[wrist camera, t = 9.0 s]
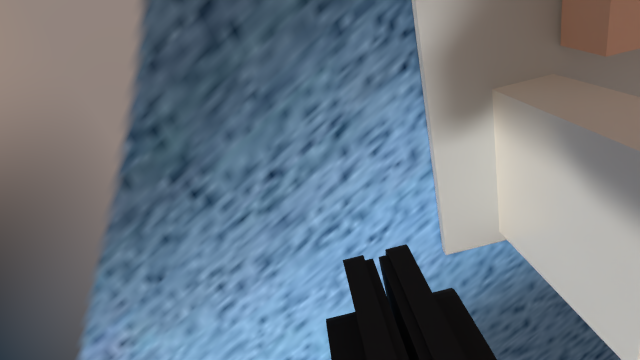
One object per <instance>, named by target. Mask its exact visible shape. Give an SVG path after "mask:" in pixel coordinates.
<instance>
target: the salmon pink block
mask: <svg viewBox="0 0 640 360" xmlns="http://www.w3.org/2000/svg"><path fill="white" fill-rule="evenodd" d="M560 45H561V46H565V47H569V48H573V49H577V50H581V51H585V52H589V53H593V54H597V55H601V56H605V57H607V56H611V55H615V54H619V53H623V52H627V51H632V50H636V49H640V0H562V17H561V43H560Z"/></svg>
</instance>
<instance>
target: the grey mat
mask: <svg viewBox="0 0 640 360" xmlns="http://www.w3.org/2000/svg"><path fill="white" fill-rule="evenodd" d="M412 7H413V15H414V23H415V31H416V39H417V47H418V55H419V63H420V71H421V79H422V87H423V95H424V104H425V112H426V120H427V128H428V136H429V144H430V152H431V160H432V168H433V176H434V184H435V192H436V200H437V208H438V216H439V224H440V232H441V240H442V248H443V251H444V252H445V254H446V255H448V254H452V253H456V252H460V251H464V250H468V249H472V248H476V247H480V246H484V245H488V244H492V243H496V242H500V241H504V240H507V239H506V238H505V237H504V236H503V235H502V234H501V233H500V232H499V213H498V194H497V175H496V155H495V136H494V117H493V97H492V89H495V88H499V87H503V86H507V85H511V84H515V83H519V82H523V81H527V80H531V79H535V78H539V77H543V76H547V75H551V74H556V75H560V76H563V77H567V78H571V79H575V80H578V81H582V82H586V83H589V84H593V85H597V86H601V87H604V88H608V89H612V90H615V91H619V92H623V93H627V94H630V95H634V96H638V97H640V49H636V50H632V51H627V52H623V53H619V54H615V55H611V56H607V57H605V56H601V55H597V54H593V53H589V52H585V51H581V50H577V49H573V48H569V47H565V46H561V45H560V43H561V17H562V0H412Z"/></svg>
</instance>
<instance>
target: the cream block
mask: <svg viewBox="0 0 640 360" xmlns="http://www.w3.org/2000/svg"><path fill="white" fill-rule="evenodd" d="M492 97H493V117H494V136H495V155H496V175H497V194H498V213H499V232H500V233H501V234H502V235H503V236H504V237H505V238H506V239H507V240H508V241H509V242H510V243H511V244H512V245H513V246H514V247H515V248H516V250H517V251H518V252H519V253H520V254H521V255H522V256H523V257H524V258H525V259H526V260H527V261H528V262H529V263H530V264H531V265H532V266H533V267H534V268H535V269H536V271H537V272H538V273H539V274H540V275H541V276H542V277H543V278H544V279H545V280H546V281H547V282H548V283H549V284H550V285H551V286H552V287H553V288H554V289H555V290H556V292H557V293H558V294H559V295H560V296H561V297H562V298H563V299H564V300H565V301H566V302H567V303H568V304H569V305H570V306H571V307H572V308H573V309H574V310H575V311H576V313H577V314H578V315H579V316H580V317H581V318H582V319H583V320H584V321H585V322H586V323H587V324H588V325H589V326H590V327H591V328H592V329H593V330H594V331H595V332H596V334H597V335H598V336H599V337H600V338H601V339H602V340H603V341H604V342H605V343H606V344H607V345H608V346H609V347H610V348H611V349H612V350H613V351H614V352H615V353H616V355H617V356H618V357H619V358H620V359H621V360H640V97H638V96H634V95H630V94H627V93H623V92H619V91H615V90H612V89H608V88H604V87H601V86H597V85H593V84H589V83H586V82H582V81H578V80H575V79H571V78H567V77H563V76H560V75H556V74H551V75H547V76H543V77H539V78H535V79H531V80H527V81H523V82H519V83H515V84H511V85H507V86H503V87H499V88H495V89H492Z"/></svg>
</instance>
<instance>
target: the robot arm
mask: <svg viewBox="0 0 640 360" xmlns="http://www.w3.org/2000/svg"><path fill="white" fill-rule="evenodd" d="M379 261H380V266H381V271H382V275H383V280H384V285H385V290H386V294H385V291H384V288H383V285H382V283H381V280H380V277H379V274H378V271H377V269H376V266H375V263H374V261H373V259H369V260H365V259H364V256H363V255H362V256H358V257H354V258H350V259H346V260H343V263H344V267H345V271H346V275H347V279H348V283H349V287H350V291H351V295H352V300H353V304H354V308H355V312H353V313H349V314H345V315H341V316H337V317H333V318H329V319H326V324H327V331H328V338H329V345H330V352H331V359H332V360H497V359H496V357H495V356H494V354H493V352H492V351H491V349H490V347H489V346H488V344H487V342H486V341H485V339H484V337H483V336H482V334H481V333H480V331H479V329H478V328H477V326H476V324H475V323H474V321H473V319H472V318H471V316H470V314H469V313H468V311H467V309H466V308H465V306H464V304H463V303H462V301H461V299H460V298H459V296H458V294H457V293H456V292H455V290H454V289H452V288H450V289H446V290H442V291H438V292H433V293H432V292H431V290H430V288H429V286H428V284H427V282H426V280H425V278H424V276H423V274H422V272H421V271H420V269H419V267H418V265H417V263H416V261H415V259H414V257H413V255H412V253H411V251H410V249H409V248H408V246H407V245H402V246H398V247H394V248H390V249H386V255H385V256H381V257H379ZM386 295H387V296H386Z"/></svg>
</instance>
